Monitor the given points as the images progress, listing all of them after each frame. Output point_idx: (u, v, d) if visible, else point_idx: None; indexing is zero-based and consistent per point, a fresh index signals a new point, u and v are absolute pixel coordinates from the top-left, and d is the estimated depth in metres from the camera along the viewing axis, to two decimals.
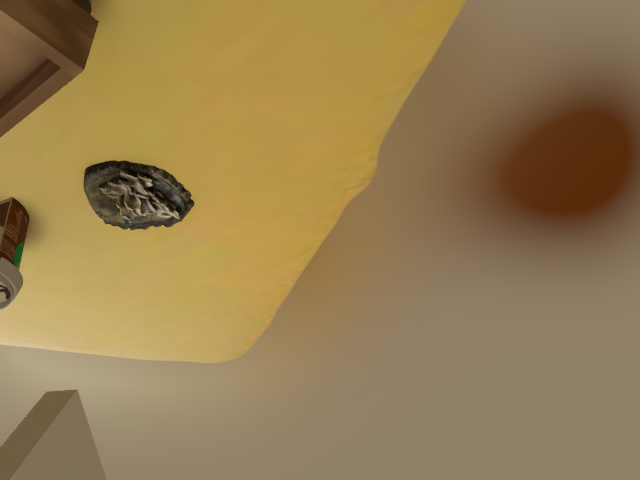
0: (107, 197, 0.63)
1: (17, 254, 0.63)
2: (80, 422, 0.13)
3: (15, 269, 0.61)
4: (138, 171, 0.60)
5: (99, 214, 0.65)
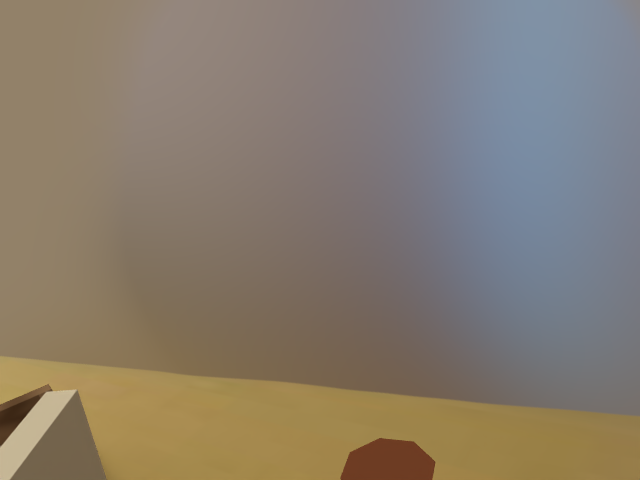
0: None
1: None
2: (80, 422, 0.13)
3: None
4: None
5: None
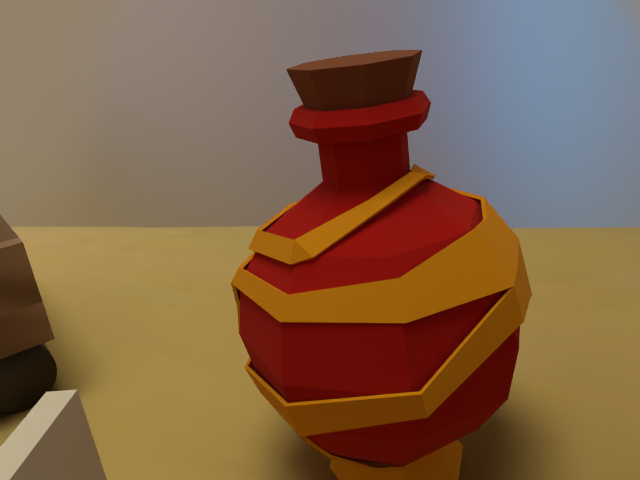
0: None
1: None
2: (80, 422, 0.13)
3: None
4: None
5: None
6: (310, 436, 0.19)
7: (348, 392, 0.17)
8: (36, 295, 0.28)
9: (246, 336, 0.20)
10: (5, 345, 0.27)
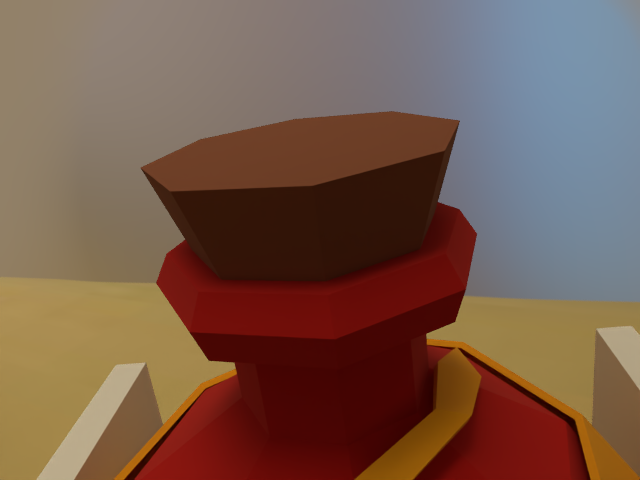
0: None
1: None
2: (148, 393, 0.14)
3: None
4: None
5: None
6: None
7: None
8: None
9: None
10: None
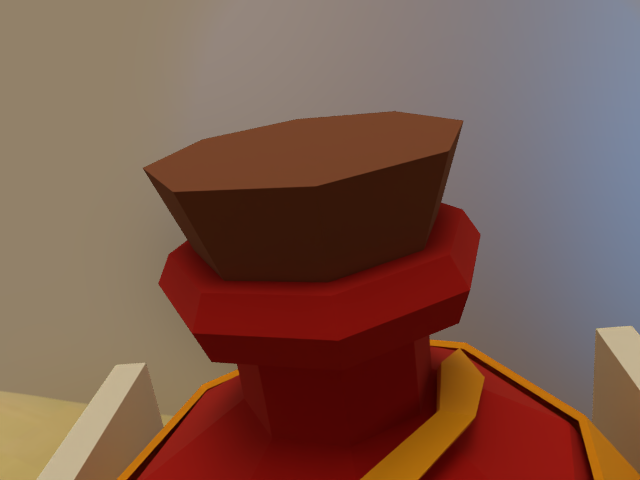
0: None
1: None
2: (148, 393, 0.14)
3: None
4: None
5: None
6: None
7: None
8: None
9: None
10: None
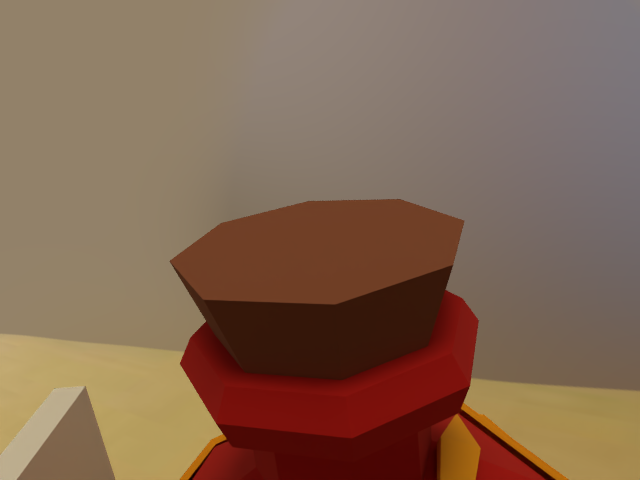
0: None
1: None
2: (88, 418, 0.14)
3: None
4: None
5: None
6: None
7: None
8: None
9: None
10: None
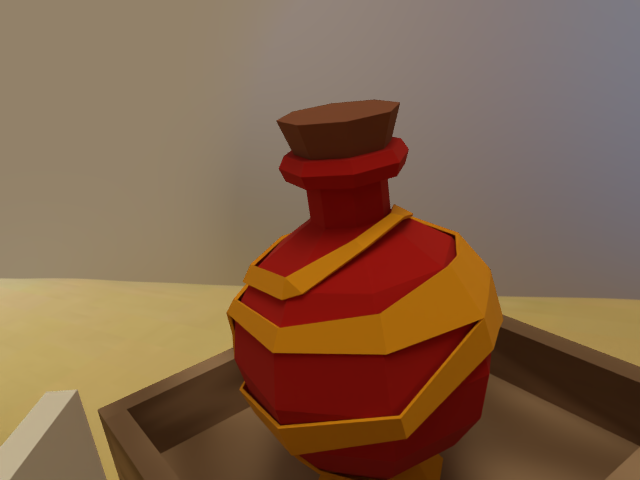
0: None
1: None
2: (79, 422, 0.13)
3: None
4: None
5: None
6: (301, 455, 0.21)
7: (335, 416, 0.19)
8: None
9: (240, 362, 0.22)
10: None
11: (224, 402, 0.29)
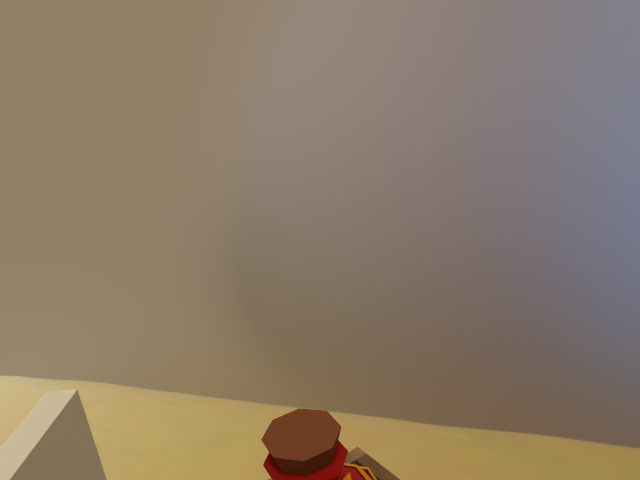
0: None
1: None
2: (80, 422, 0.13)
3: None
4: None
5: None
6: None
7: None
8: None
9: None
10: None
11: None
